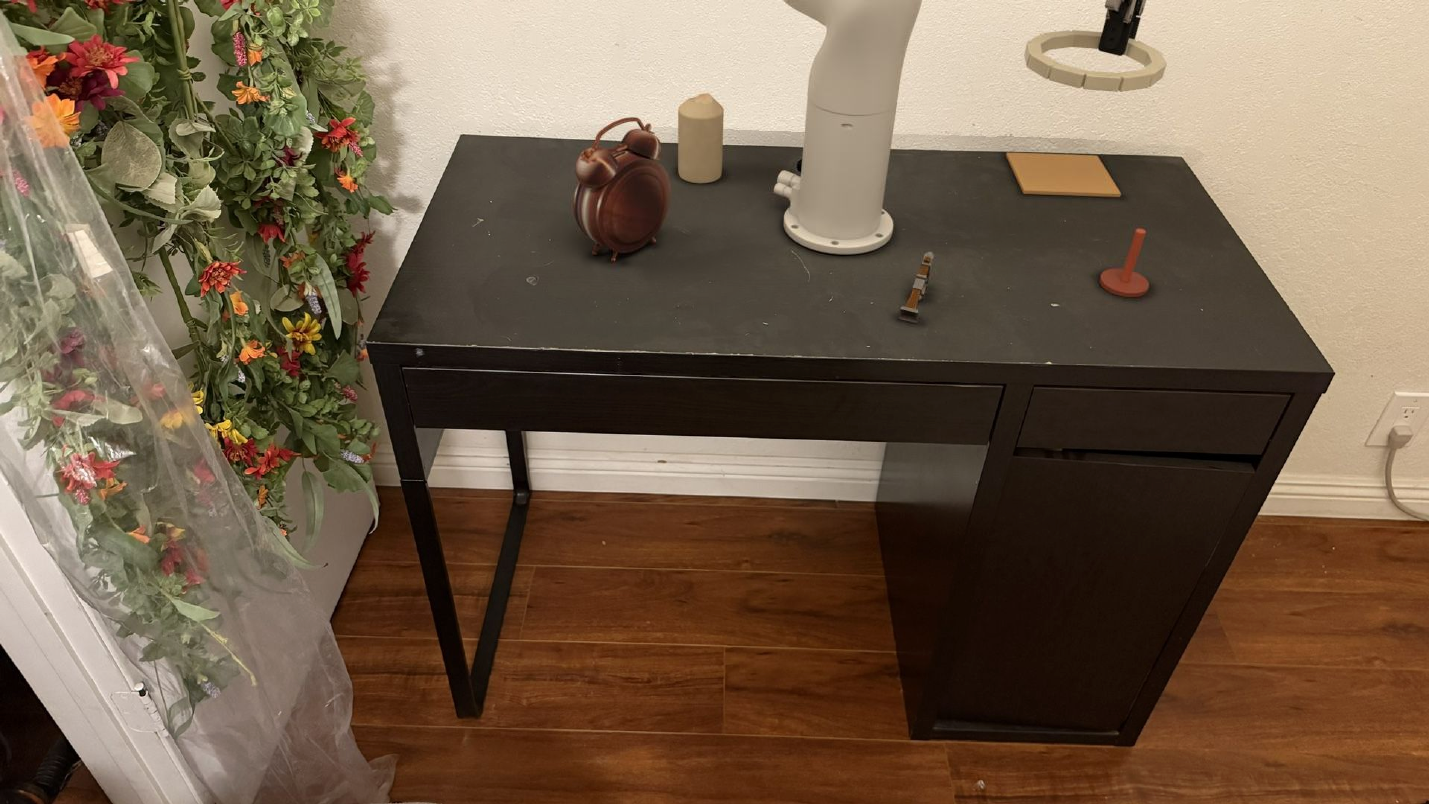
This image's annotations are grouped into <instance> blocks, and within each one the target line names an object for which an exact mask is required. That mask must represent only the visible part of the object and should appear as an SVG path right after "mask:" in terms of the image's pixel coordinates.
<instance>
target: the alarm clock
mask: <svg viewBox="0 0 1429 804" xmlns="http://www.w3.org/2000/svg"><path fill="white" fill-rule="evenodd" d="M631 122H632V123H633V122H636V124H637V125H638V126H639V128H633V129H630V130H628V131H627V132H626V133H625V134H624V136H623V138H622V139H621V141H620V143H619V144H617V145H615V146H614V147H611V148H608V149H606V148H604V147H603V146H599V144H600V142H601V138H602V137H603V136H604V135H605V134H606V133H607V132H609V131H611V130H612V129H614V128H615V127H618V126H620V125H623V124H626V123H631ZM651 130H652V124H651V123H646V124H645V125H644V124H643V121H642V120H641V119H640V118H639V117H636V116H630V117H624V118H620V119H617V120H615V121H613V122H611V123H609V124H608V125H606V126H605V127H603V128H602V129H600V130H599V131H598V133H597V134H596V137H595V139H594V142H593V145H592V146H591V147H588V148H586V149H584V150H583V151H581V152H580V154H579V155H578V157H577V158H576V160H575V162H574V171H575V172H574V173H575V175H576V178H577V180H578V181H577V183H576V187H575V190H574V194H573V202H572V203H573V204H572V208H573V209H572V210H573V216H574V219H575V223H576V224H577V226H578V228H579V229H580V231H581V232H582V234H584V235H585V236H587V237H588V238H589V239H591V240H592V241H593V242H595V243H594V249H593V251H592V255H593V256H597V254H598V250H599V248H600V246H601V247H604V248H607V249H608V250H611V251H612V256H611V259H610V261H612V262H615V261H616V260H617V259H616V257H617V256H618V253H620V254H623V253H624V254H626V253H631V252H635V251H637V250H639V249H641V248H643V247H644V246H645V245H646V244H648V243H649V242H650V241H651V243H654V244H655V243H656V242H657V241H656V238H654V237H655V236H656V234H657V233H658V232H659V230H660V229H661V227H662V225H663V223H664V222H665V219H666V217H667V214H668V211H669V209H670V208H669V207H670V204H671V198H672V197H671V196H672V188H671V181H670V178H669V174H668V172H667V171H666V169H665V168H664V166H663V165H662V164H661V163H659V162H658V161H660V160H661V157H662V156H661V155H662V150H663V149H662V147H663V146H662V142H661V140H660V138H659V137H657V135H656V133H655V132H654V131H651ZM656 160H657V161H656Z"/></svg>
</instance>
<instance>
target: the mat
mask: <svg viewBox="0 0 1429 804" xmlns="http://www.w3.org/2000/svg"><path fill="white" fill-rule="evenodd" d="M1005 157H1006V160H1007V161H1008V163H1009V165H1010V167H1011V170H1012V173H1013V174H1014V176H1015V178H1016V181H1017V183H1018V186H1019V187H1020V190H1021V192H1022V194H1023V195H1044V196H1045V195H1047V196H1076V197H1078V196H1079V197H1101V198H1102V197H1103V198H1105V197H1106V198H1121V195H1122V193H1121V191H1120V190H1119V188H1118V186H1117V185H1116V183H1115V182H1114V180H1113V178H1112V177H1111V175H1110V173H1109V171H1108V170H1107V169H1106V167H1105V166H1104V164H1103V162H1102V161H1101V159H1100V158H1099V156H1098V155H1092V154H1087V155H1086V154H1063V153H1036V152H1035V153H1033V152H1032V153H1031V152H1008V151H1007V152H1006V154H1005Z"/></svg>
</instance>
